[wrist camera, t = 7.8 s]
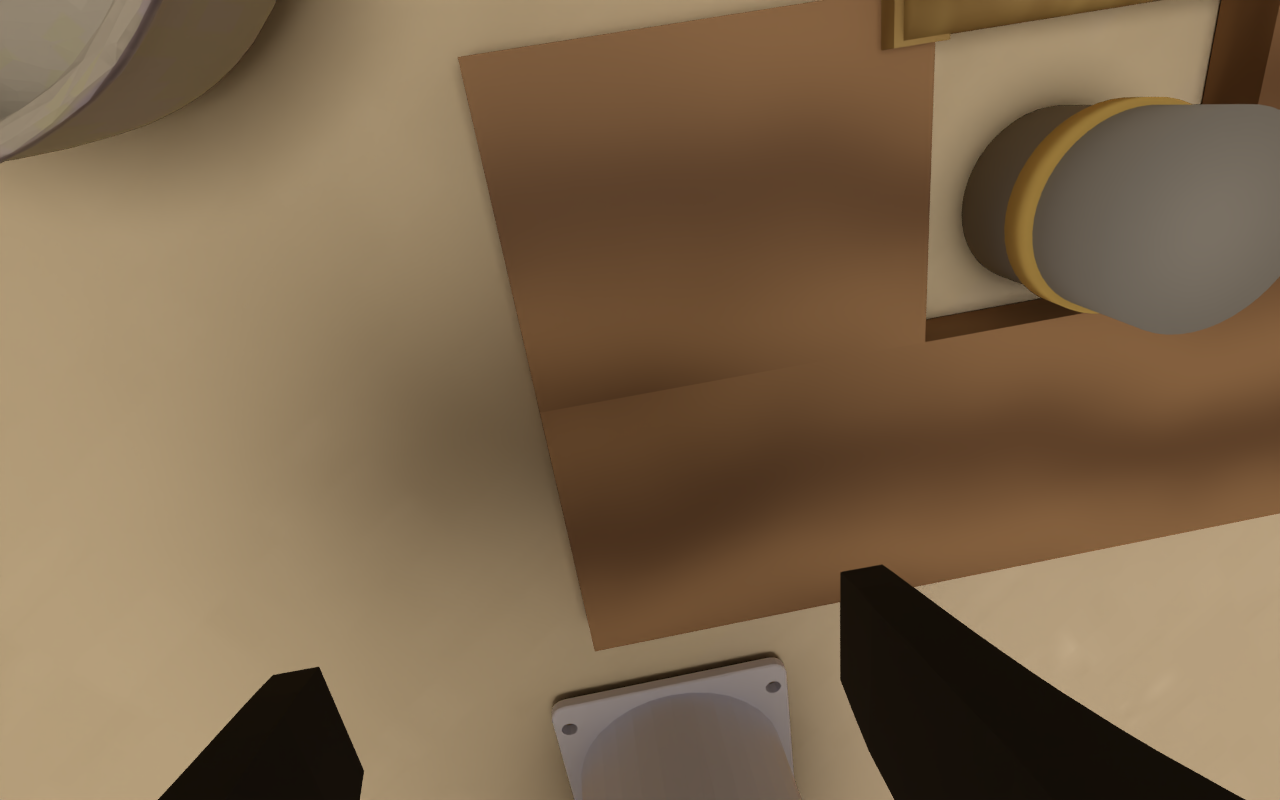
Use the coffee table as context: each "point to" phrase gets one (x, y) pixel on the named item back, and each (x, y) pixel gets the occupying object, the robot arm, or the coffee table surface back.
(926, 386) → the shelf board
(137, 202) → the coffee table surface
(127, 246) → the coffee table surface
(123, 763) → the coffee table surface
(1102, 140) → the gold-banded grey cylinder
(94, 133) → the teacup
